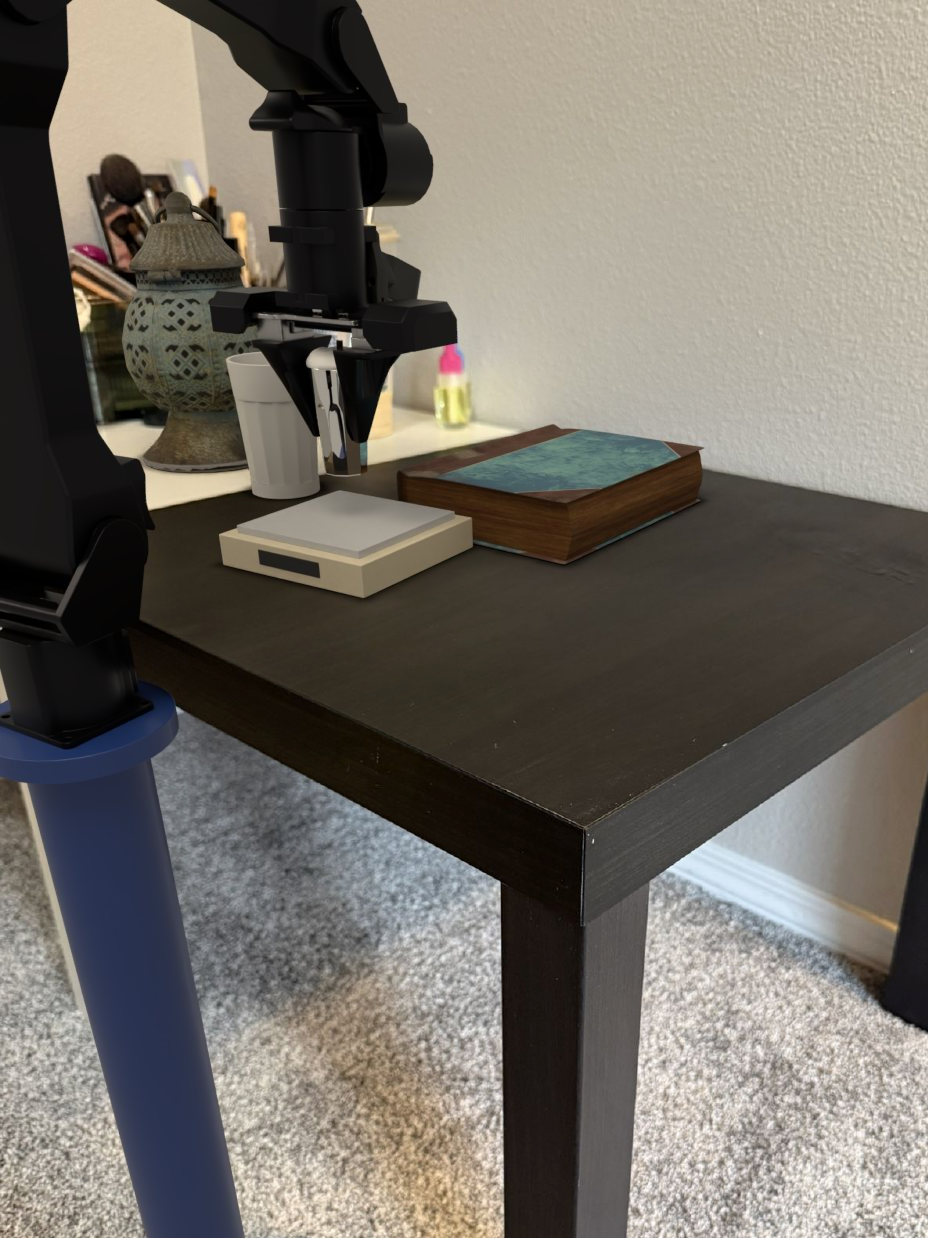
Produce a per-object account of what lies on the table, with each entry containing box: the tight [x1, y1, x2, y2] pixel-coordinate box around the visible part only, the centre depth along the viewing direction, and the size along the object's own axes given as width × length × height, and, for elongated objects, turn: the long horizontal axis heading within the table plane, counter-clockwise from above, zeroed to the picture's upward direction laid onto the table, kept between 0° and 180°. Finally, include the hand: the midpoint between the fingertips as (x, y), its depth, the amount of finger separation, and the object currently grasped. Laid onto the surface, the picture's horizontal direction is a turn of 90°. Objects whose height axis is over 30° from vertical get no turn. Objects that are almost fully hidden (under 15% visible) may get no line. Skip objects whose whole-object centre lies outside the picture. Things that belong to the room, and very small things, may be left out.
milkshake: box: [306, 339, 369, 477], centre depth 81 cm, size 5×5×10 cm
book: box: [396, 423, 705, 565], centre depth 96 cm, size 23×18×5 cm
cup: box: [226, 352, 321, 500], centre depth 101 cm, size 8×8×12 cm
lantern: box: [121, 191, 261, 474], centre depth 109 cm, size 14×14×25 cm
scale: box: [218, 489, 474, 599], centre depth 86 cm, size 14×14×3 cm
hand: (340, 439), depth 82 cm, fingers closed on milkshake, 4 cm apart
